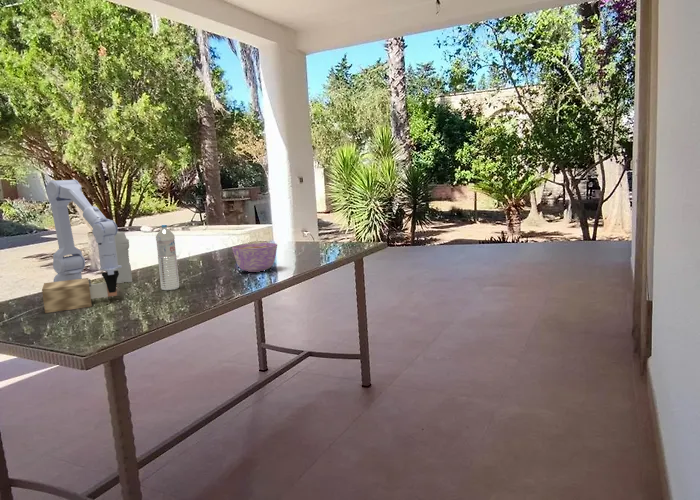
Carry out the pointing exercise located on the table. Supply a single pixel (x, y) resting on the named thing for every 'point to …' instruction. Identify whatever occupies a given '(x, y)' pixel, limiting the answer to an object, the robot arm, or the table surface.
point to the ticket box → (66, 295)
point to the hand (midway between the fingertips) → (112, 291)
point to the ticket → (100, 291)
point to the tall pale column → (123, 258)
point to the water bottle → (167, 259)
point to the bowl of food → (255, 256)
